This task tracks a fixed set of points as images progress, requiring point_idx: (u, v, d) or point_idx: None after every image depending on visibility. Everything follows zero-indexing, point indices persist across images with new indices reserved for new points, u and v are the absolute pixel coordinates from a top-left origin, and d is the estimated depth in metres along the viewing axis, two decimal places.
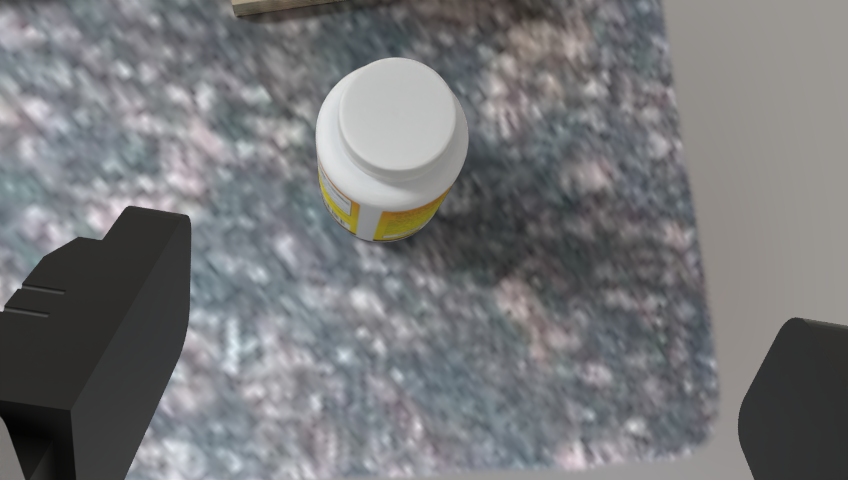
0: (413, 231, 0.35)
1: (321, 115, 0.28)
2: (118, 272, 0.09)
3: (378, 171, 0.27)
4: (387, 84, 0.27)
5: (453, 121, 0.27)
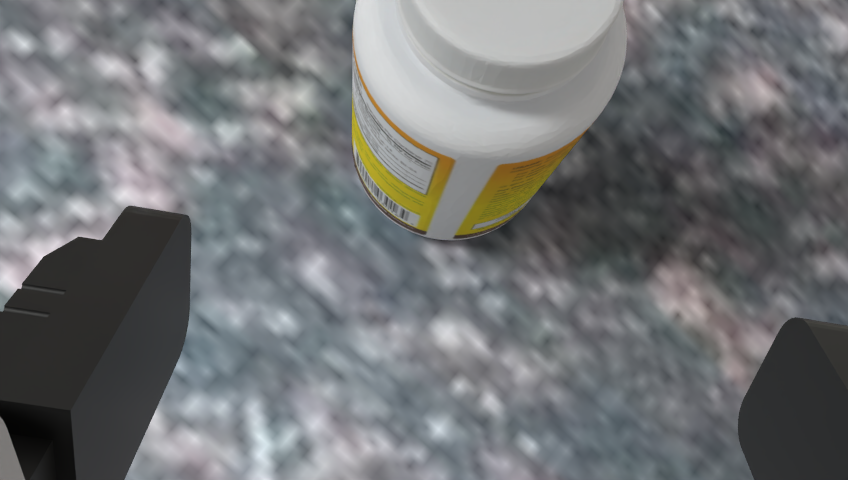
0: (516, 212, 0.22)
1: (361, 9, 0.15)
2: (118, 272, 0.09)
3: (497, 78, 0.14)
4: None
5: None
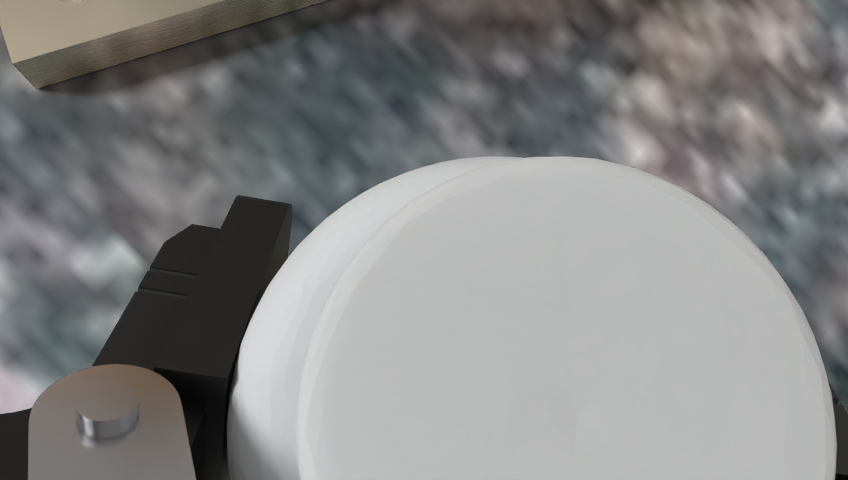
0: None
1: (237, 407, 0.07)
2: (242, 255, 0.09)
3: None
4: (503, 294, 0.06)
5: (823, 406, 0.06)
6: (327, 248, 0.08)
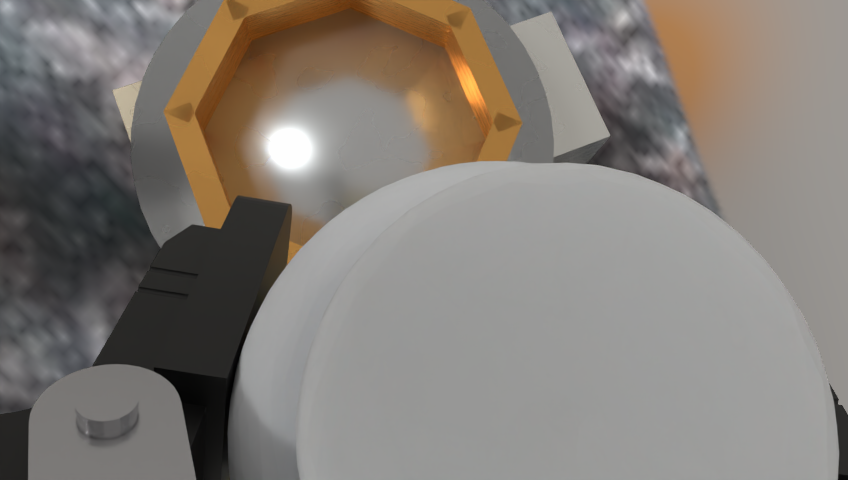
0: None
1: (238, 413, 0.07)
2: (241, 255, 0.09)
3: None
4: (504, 299, 0.06)
5: (826, 413, 0.06)
6: (328, 253, 0.08)
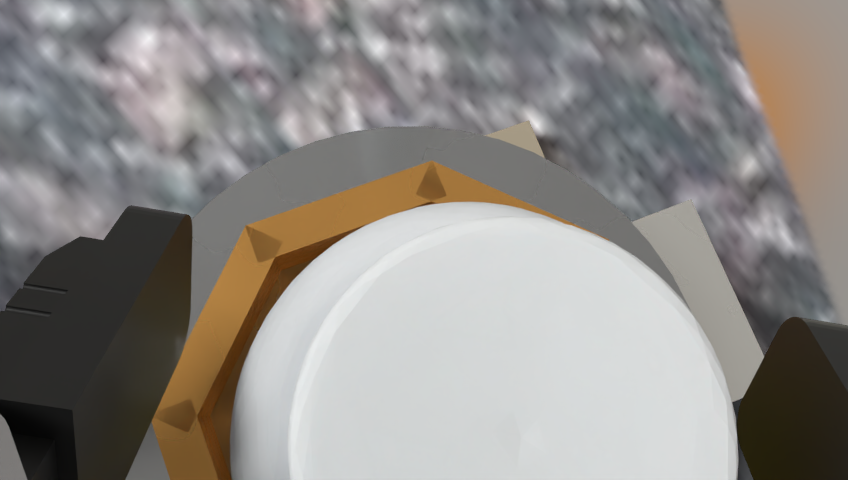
0: None
1: (239, 423, 0.09)
2: (119, 271, 0.09)
3: None
4: (459, 333, 0.07)
5: (727, 427, 0.07)
6: (317, 285, 0.09)
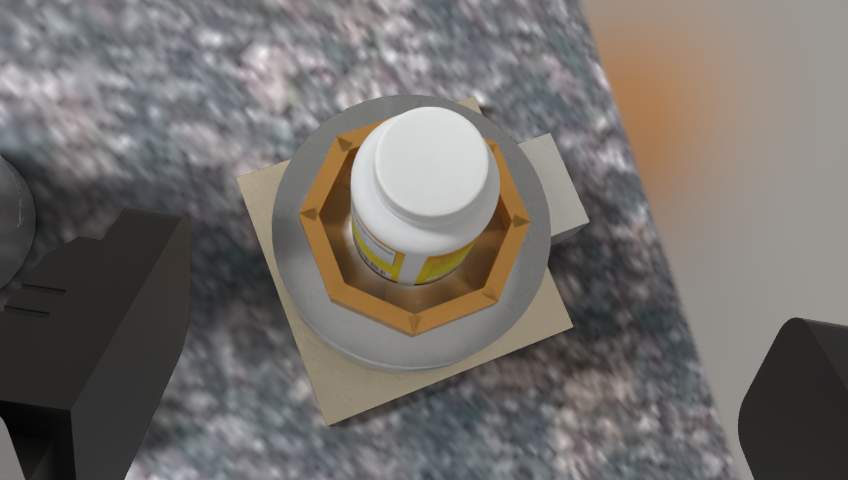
0: (452, 270, 0.35)
1: (354, 173, 0.29)
2: (118, 272, 0.09)
3: (422, 219, 0.27)
4: (417, 134, 0.27)
5: (486, 159, 0.27)
6: (377, 133, 0.29)
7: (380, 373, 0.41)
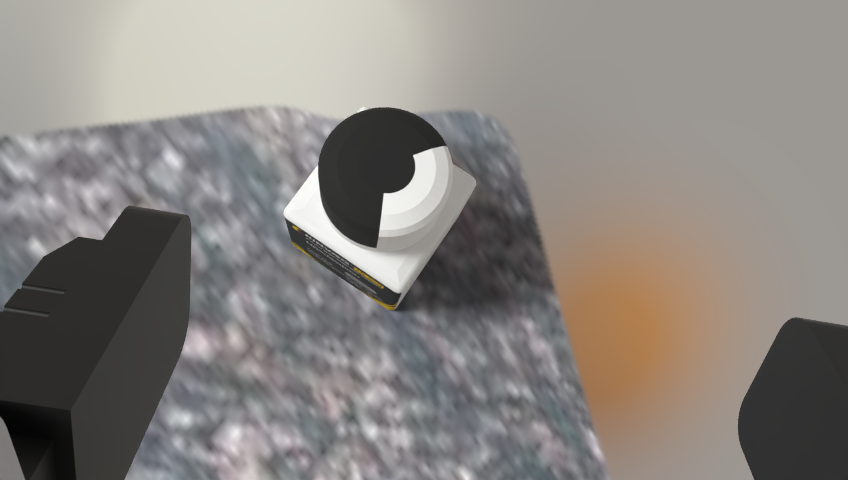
0: None
1: None
2: (118, 271, 0.09)
3: None
4: None
5: None
6: None
7: None
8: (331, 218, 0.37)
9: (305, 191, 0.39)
